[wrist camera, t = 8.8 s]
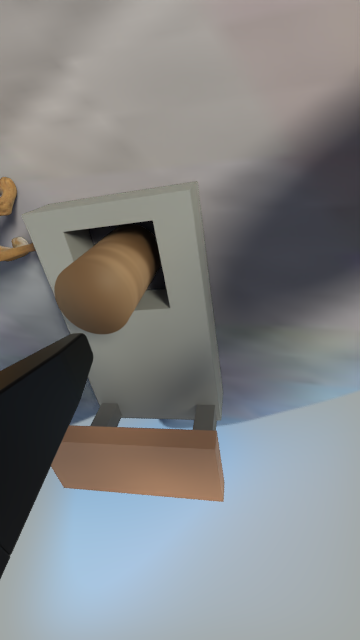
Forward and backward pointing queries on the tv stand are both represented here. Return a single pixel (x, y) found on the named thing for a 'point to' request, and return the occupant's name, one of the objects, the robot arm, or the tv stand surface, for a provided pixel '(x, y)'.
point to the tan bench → (143, 457)
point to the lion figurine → (3, 208)
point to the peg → (108, 280)
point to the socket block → (145, 302)
